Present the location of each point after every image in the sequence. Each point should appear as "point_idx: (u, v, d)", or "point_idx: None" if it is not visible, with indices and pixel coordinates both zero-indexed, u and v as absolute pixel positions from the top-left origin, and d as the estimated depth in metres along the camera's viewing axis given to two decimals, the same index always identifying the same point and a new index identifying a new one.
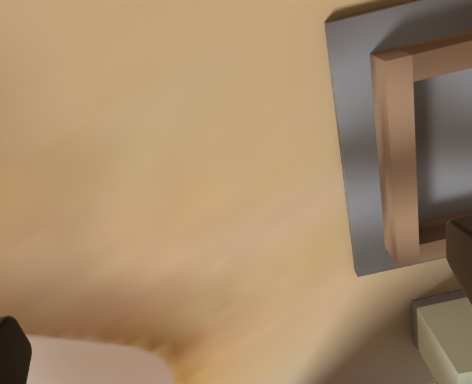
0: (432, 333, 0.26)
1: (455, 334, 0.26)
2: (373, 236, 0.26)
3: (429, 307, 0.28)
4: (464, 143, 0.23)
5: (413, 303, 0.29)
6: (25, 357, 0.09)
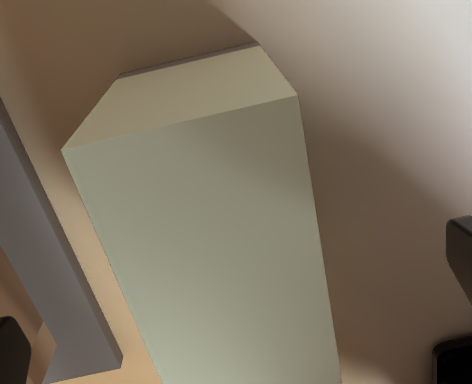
0: None
1: None
2: None
3: None
4: None
5: None
6: (25, 357, 0.09)
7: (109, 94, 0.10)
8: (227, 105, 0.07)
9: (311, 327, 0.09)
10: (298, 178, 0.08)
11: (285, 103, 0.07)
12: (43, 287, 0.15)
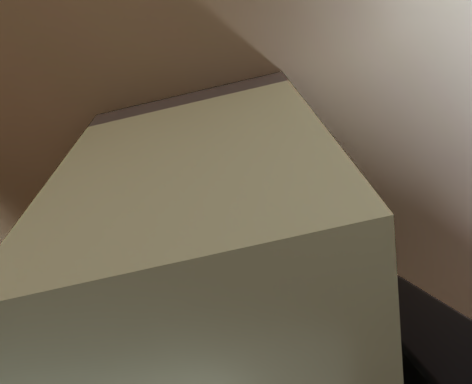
0: None
1: None
2: None
3: None
4: None
5: None
6: None
7: (71, 158, 0.07)
8: (258, 224, 0.04)
9: None
10: (380, 343, 0.04)
11: (368, 227, 0.04)
12: None
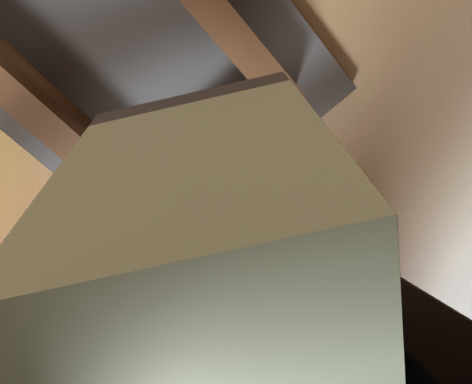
0: None
1: None
2: None
3: None
4: (131, 43, 0.17)
5: None
6: None
7: (72, 157, 0.07)
8: (260, 223, 0.04)
9: None
10: (382, 343, 0.04)
11: (371, 227, 0.04)
12: None
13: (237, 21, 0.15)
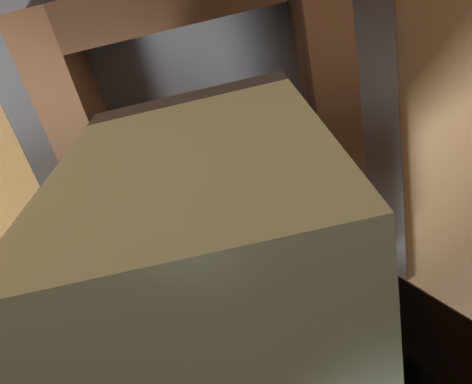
0: None
1: None
2: None
3: None
4: None
5: None
6: None
7: (70, 157, 0.07)
8: (257, 221, 0.04)
9: None
10: (380, 342, 0.04)
11: (368, 225, 0.04)
12: None
13: None
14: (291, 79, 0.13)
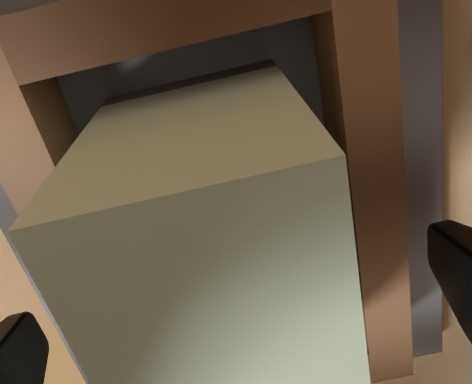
0: None
1: None
2: None
3: None
4: None
5: None
6: (42, 353, 0.09)
7: (89, 130, 0.08)
8: (243, 165, 0.05)
9: None
10: (341, 263, 0.06)
11: (327, 166, 0.05)
12: None
13: (401, 276, 0.11)
14: (311, 108, 0.11)
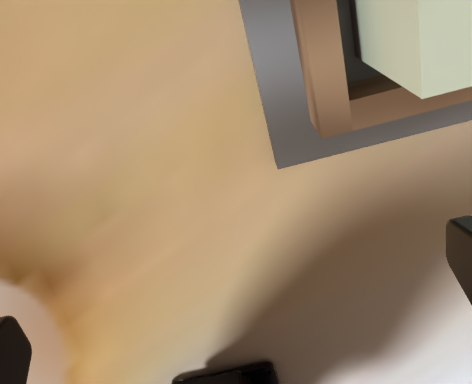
0: (383, 73, 0.15)
1: (384, 41, 0.14)
2: (292, 105, 0.18)
3: (360, 41, 0.16)
4: None
5: None
6: (25, 357, 0.09)
7: None
8: None
9: None
10: None
11: None
12: None
13: None
14: None
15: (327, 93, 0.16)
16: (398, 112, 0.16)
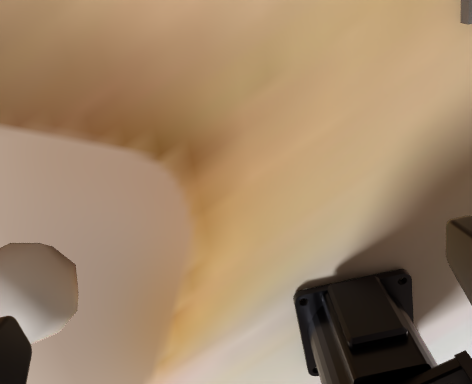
0: None
1: None
2: None
3: None
4: None
5: None
6: (25, 357, 0.09)
7: None
8: None
9: None
10: None
11: None
12: None
13: None
14: None
15: None
16: None
